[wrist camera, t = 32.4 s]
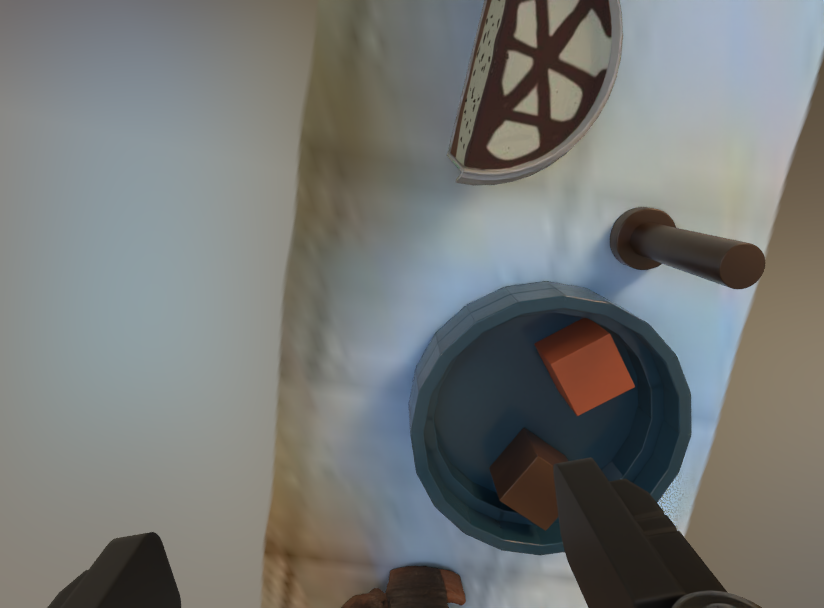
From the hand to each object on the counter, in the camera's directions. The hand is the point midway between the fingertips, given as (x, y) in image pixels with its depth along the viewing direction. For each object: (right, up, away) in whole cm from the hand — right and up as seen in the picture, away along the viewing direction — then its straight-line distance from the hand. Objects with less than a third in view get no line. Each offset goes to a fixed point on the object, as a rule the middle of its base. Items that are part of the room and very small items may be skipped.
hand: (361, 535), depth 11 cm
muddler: (+16, +9, +25) cm, 31 cm away
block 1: (+9, -7, +28) cm, 30 cm away
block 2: (+12, +1, +26) cm, 29 cm away
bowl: (+10, -2, +28) cm, 30 cm away
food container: (+7, +18, +23) cm, 30 cm away
